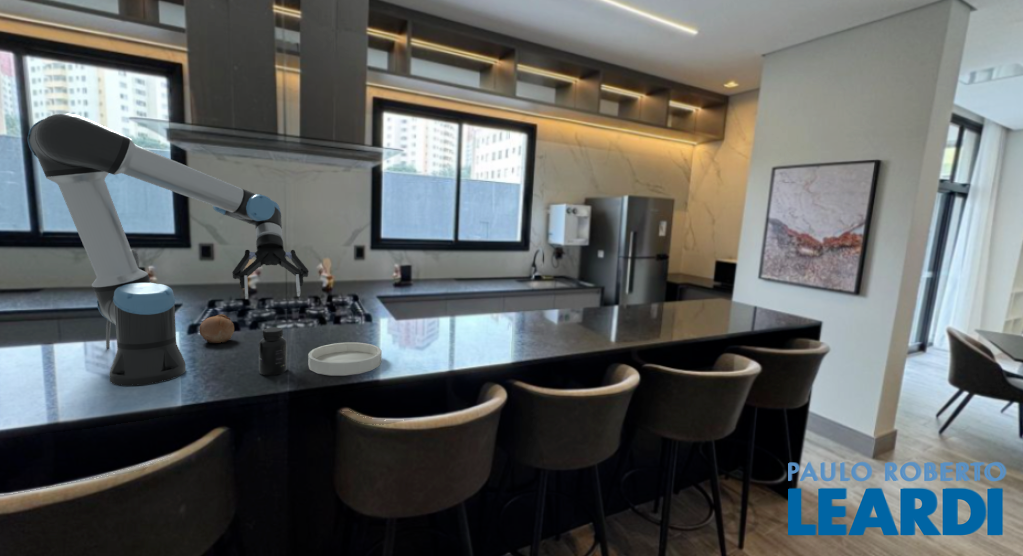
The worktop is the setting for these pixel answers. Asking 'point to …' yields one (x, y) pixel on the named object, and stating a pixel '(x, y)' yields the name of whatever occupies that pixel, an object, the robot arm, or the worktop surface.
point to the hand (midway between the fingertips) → (273, 295)
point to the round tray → (344, 358)
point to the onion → (217, 329)
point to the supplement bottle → (272, 352)
